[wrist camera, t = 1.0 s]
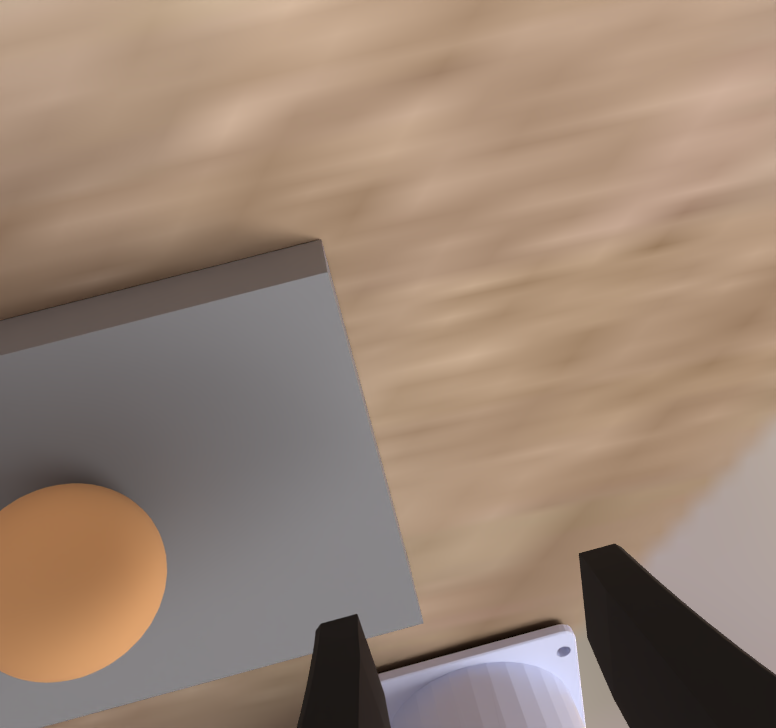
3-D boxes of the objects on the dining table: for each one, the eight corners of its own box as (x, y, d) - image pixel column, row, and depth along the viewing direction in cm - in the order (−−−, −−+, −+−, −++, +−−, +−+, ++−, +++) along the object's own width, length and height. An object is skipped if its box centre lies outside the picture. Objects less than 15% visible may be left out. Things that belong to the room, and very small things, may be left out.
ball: (201, 555, 17) (180, 695, 13) (47, 596, 17) (-15, 748, 13) (141, 428, 15) (98, 551, 11) (-33, 473, 15) (-132, 612, 11)
